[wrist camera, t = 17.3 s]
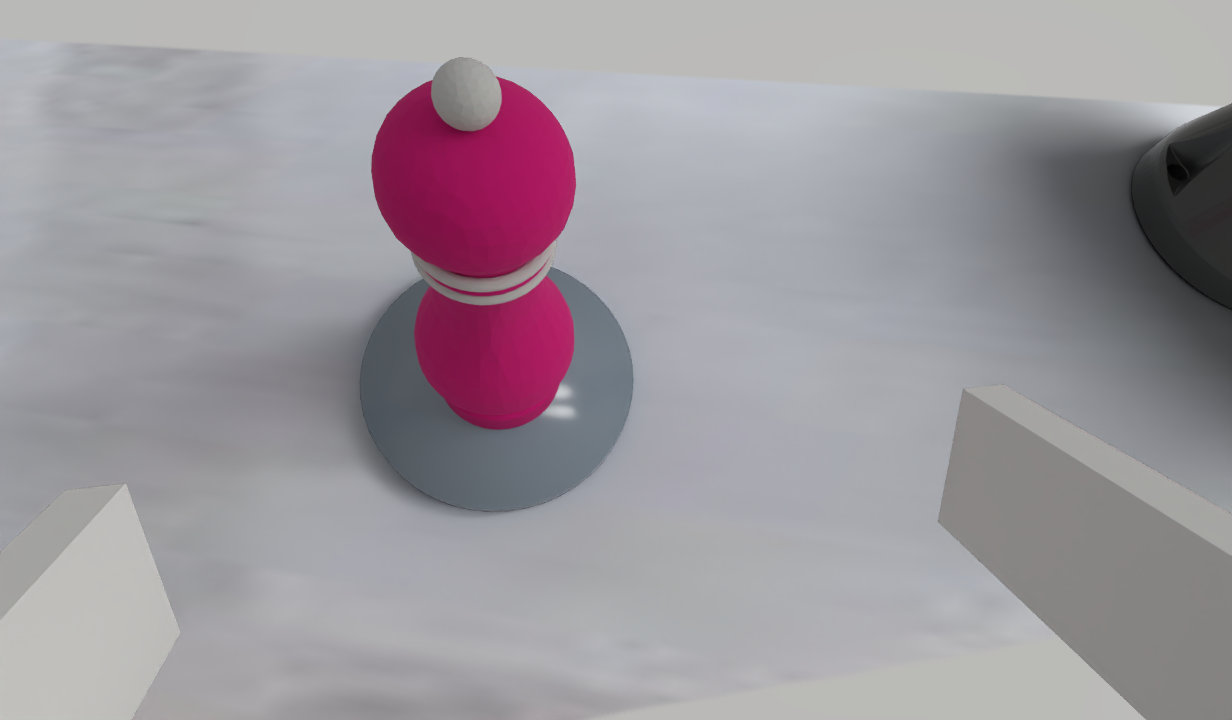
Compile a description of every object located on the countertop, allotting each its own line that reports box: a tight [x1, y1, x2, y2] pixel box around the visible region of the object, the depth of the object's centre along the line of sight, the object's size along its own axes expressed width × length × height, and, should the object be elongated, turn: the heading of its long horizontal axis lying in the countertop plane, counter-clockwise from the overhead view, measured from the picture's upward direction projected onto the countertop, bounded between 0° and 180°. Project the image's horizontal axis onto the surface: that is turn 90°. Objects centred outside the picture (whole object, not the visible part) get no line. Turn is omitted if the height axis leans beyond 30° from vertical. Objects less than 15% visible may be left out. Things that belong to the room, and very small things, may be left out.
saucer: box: [360, 267, 633, 512], centre depth 35 cm, size 14×14×1 cm
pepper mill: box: [371, 57, 576, 430], centre depth 25 cm, size 7×7×20 cm
